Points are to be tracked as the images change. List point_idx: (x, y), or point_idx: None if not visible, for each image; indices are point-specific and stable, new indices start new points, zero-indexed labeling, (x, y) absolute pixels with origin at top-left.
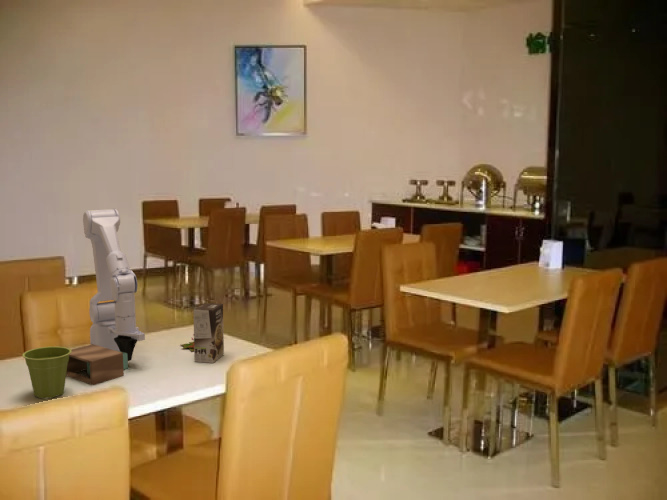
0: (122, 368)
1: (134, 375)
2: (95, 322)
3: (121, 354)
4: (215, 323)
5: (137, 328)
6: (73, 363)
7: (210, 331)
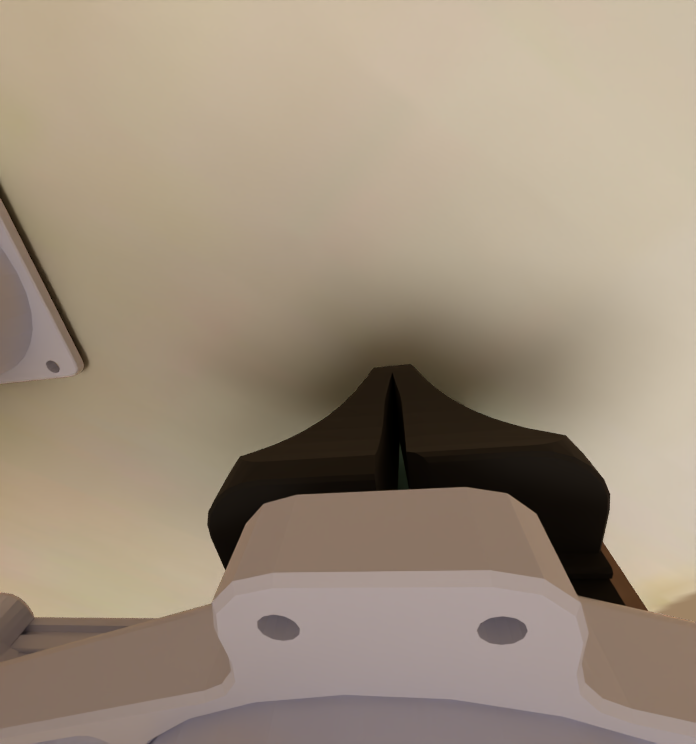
0: (601, 548)
1: (639, 456)
2: None
3: None
4: None
5: (585, 644)
6: None
7: None
